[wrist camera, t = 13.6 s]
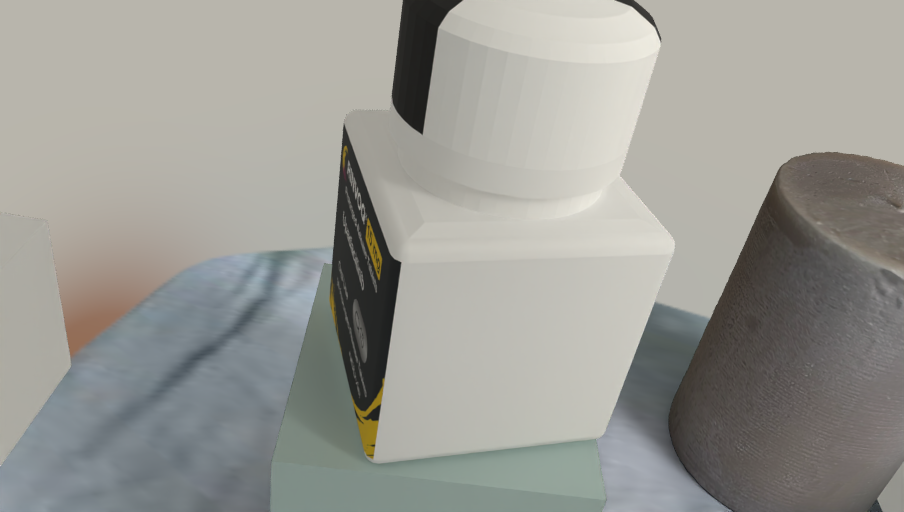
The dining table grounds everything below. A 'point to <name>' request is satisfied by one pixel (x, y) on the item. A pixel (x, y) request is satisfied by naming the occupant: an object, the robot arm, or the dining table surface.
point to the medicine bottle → (496, 228)
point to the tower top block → (413, 481)
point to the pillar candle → (805, 348)
